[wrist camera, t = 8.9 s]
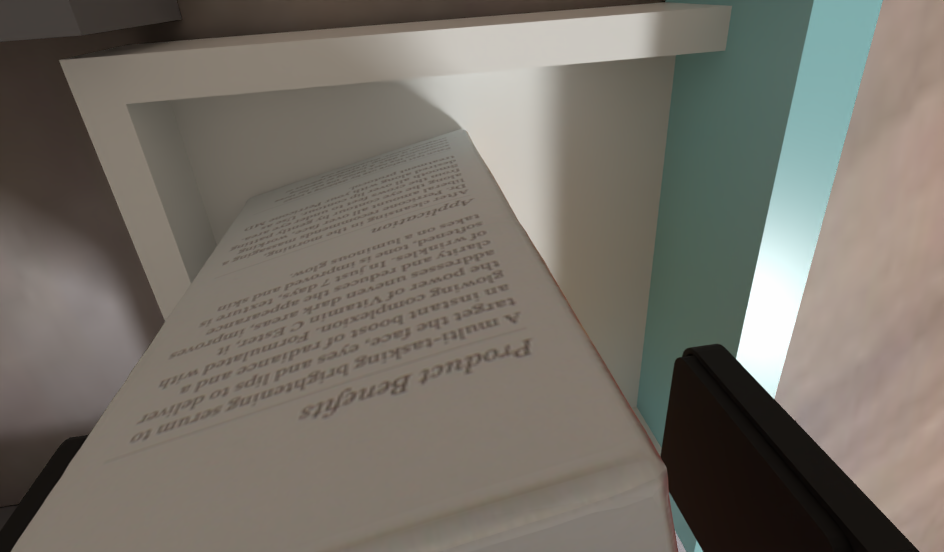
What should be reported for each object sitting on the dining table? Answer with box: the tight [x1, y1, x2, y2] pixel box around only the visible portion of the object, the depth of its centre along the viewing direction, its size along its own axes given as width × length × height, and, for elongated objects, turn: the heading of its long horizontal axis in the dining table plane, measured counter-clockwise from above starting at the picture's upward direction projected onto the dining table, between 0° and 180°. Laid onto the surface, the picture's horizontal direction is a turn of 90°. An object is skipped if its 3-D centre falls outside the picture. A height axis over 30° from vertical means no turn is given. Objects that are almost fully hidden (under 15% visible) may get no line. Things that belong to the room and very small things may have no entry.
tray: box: [59, 0, 883, 552], centre depth 13 cm, size 13×15×5 cm
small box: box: [11, 129, 678, 552], centre depth 10 cm, size 8×6×10 cm
